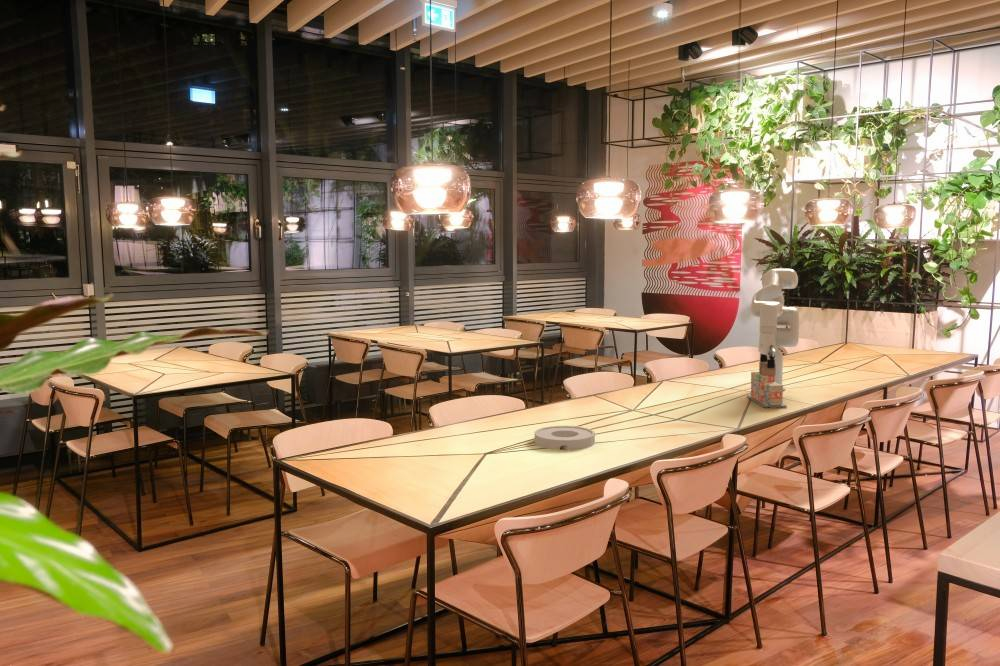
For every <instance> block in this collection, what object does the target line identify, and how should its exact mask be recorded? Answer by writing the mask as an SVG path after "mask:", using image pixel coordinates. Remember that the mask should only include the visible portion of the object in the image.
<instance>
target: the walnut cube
mask: <svg viewBox="0 0 1000 666" xmlns="http://www.w3.org/2000/svg"><path fill="white" fill-rule="evenodd" d="M758 363H759V364H758V367H759V369H758V370H759V371H758V372H759V374H761V375H763V376H772V375H775V371H776V363H775V367H774V368H767V362H760V361H759V362H758Z"/></svg>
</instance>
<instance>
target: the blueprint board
mask: <svg viewBox="0 0 1000 666" xmlns="http://www.w3.org/2000/svg"><path fill="white" fill-rule="evenodd" d="M747 397H748V398H750V399H751V400H750V399H749V400H750V401H752V400H753V401H755V402H756V403H755V402H754V403H755V404H757V403H758V404H759V405H758V404H757V405H758V406H760V405H761V407H762V406H763V407H787V408H788V405H787V404H785V403H783V402H782V405H768V404H766V403H764V402H762V401H759V400H757V399H754V398H752V397H751V395H747V396H746V398H747ZM748 398H747V399H748ZM753 401H752V402H753ZM763 407H762V408H763Z"/></svg>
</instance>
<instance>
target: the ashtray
mask: <svg viewBox="0 0 1000 666" xmlns="http://www.w3.org/2000/svg"><path fill="white" fill-rule="evenodd" d="M533 434H534V444H535V445H536V446H538V447H541V448H544V449H548V450H555V451H556V450H559V451H560V450H561V449H563V450H566V451H573V450H574V451H575V450H582V449H587V448H590V447H592V446H594V445H595V442H596V441H595V439H596V431H594V430H593V429H590V428H588V427H584V426H576V425H553V426H546V427H541V428H538V429H536V430H535V431H534V433H533Z"/></svg>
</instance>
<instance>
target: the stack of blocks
mask: <svg viewBox="0 0 1000 666" xmlns="http://www.w3.org/2000/svg"><path fill="white" fill-rule="evenodd" d="M783 387H784V385H783V384H782V385H781V384H779V383H776V382H774V375H772V376H763V375H761V374H759V371H751V372H750V396H751V397H752V398H754V399H757V400H759V401H762V402H764V403H766V404H768V405H782V403H783V392H784V390H783Z"/></svg>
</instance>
